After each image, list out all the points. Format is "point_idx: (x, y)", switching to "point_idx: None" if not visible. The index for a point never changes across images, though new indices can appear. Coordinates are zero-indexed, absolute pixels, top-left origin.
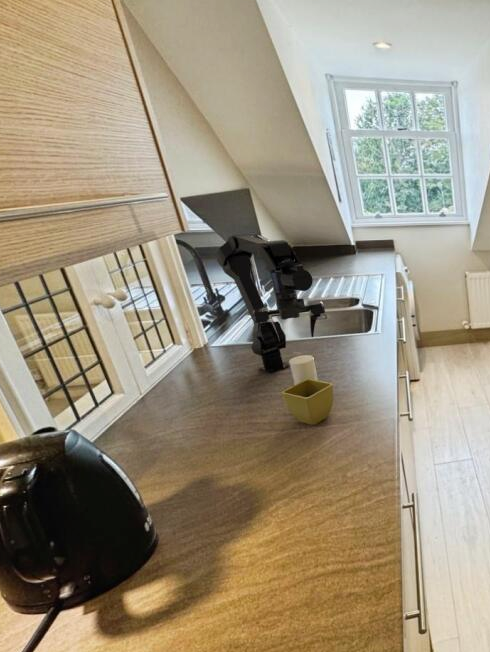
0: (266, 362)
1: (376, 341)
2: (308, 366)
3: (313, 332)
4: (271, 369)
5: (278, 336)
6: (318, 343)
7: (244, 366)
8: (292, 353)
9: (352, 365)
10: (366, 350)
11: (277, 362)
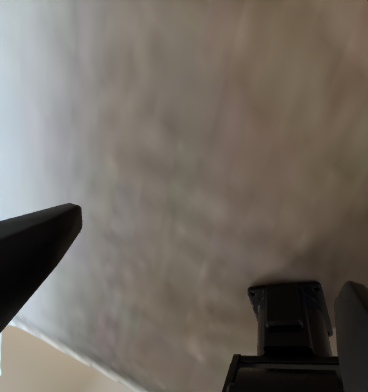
0: (322, 327)
1: None
2: None
3: (30, 214)
4: (308, 297)
5: (341, 350)
6: (135, 361)
7: None
8: (208, 357)
9: (67, 156)
10: None
11: (286, 304)
